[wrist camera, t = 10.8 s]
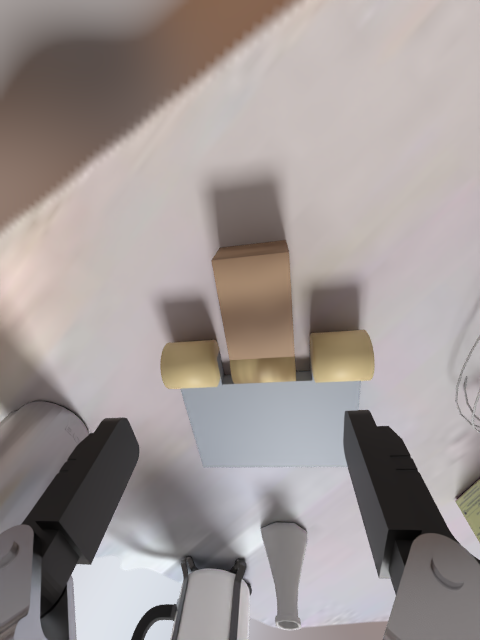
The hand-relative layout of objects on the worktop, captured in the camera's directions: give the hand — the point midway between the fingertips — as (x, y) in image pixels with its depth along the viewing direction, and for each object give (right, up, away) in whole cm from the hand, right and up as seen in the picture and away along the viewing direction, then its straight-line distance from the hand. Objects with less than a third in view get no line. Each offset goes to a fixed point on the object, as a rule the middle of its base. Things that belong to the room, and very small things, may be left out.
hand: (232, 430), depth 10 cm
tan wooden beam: (+2, +5, +16) cm, 17 cm away
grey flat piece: (+3, -5, +20) cm, 21 cm away
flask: (+7, -29, +33) cm, 44 cm away
